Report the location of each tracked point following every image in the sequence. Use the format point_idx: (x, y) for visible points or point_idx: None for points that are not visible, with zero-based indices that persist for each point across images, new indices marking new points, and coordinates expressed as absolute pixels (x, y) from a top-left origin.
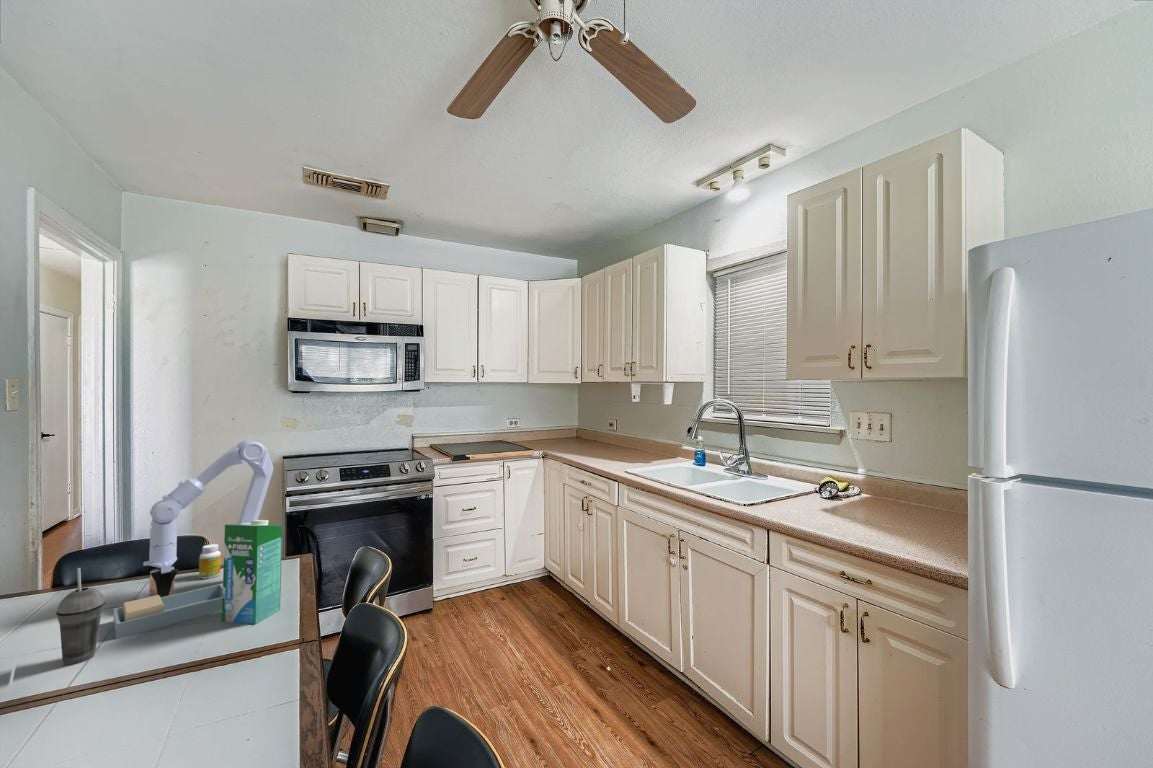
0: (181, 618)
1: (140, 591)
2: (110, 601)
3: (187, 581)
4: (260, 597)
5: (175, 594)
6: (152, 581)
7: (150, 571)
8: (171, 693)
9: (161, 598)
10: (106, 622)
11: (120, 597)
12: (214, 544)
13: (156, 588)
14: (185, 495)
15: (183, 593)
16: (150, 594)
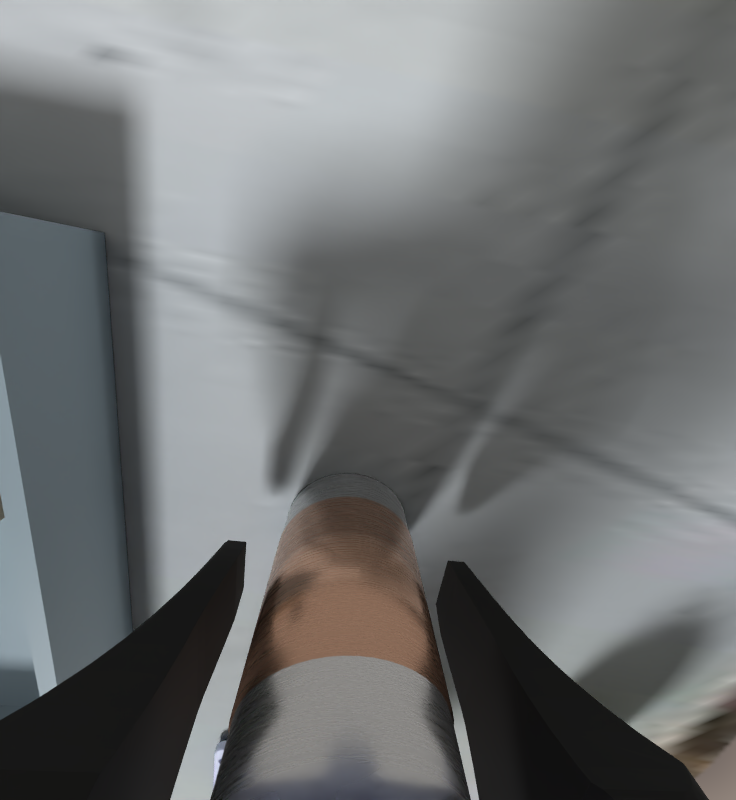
0: None
1: (678, 493)
2: (673, 335)
3: (586, 668)
4: None
5: (46, 631)
6: (294, 632)
7: (544, 720)
8: None
9: (13, 554)
10: (207, 213)
11: (689, 394)
12: None
13: (214, 591)
14: None
15: (35, 665)
16: (331, 521)
